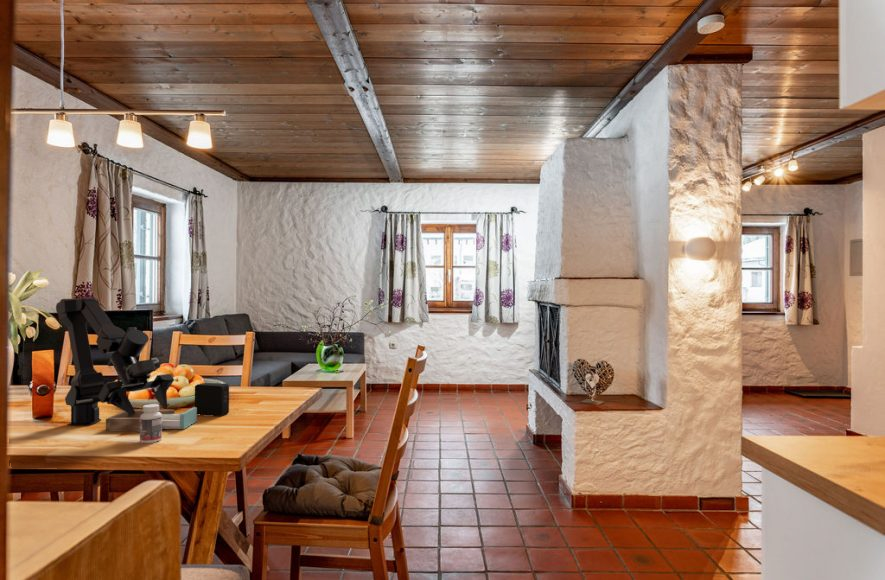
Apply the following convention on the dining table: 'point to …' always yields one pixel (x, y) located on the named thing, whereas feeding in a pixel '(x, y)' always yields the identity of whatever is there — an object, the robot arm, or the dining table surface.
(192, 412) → the tray
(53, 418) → the dining table surface
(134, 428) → the dock
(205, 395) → the electronic device
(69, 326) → the robot arm
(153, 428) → the pill bottle
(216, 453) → the dining table surface
